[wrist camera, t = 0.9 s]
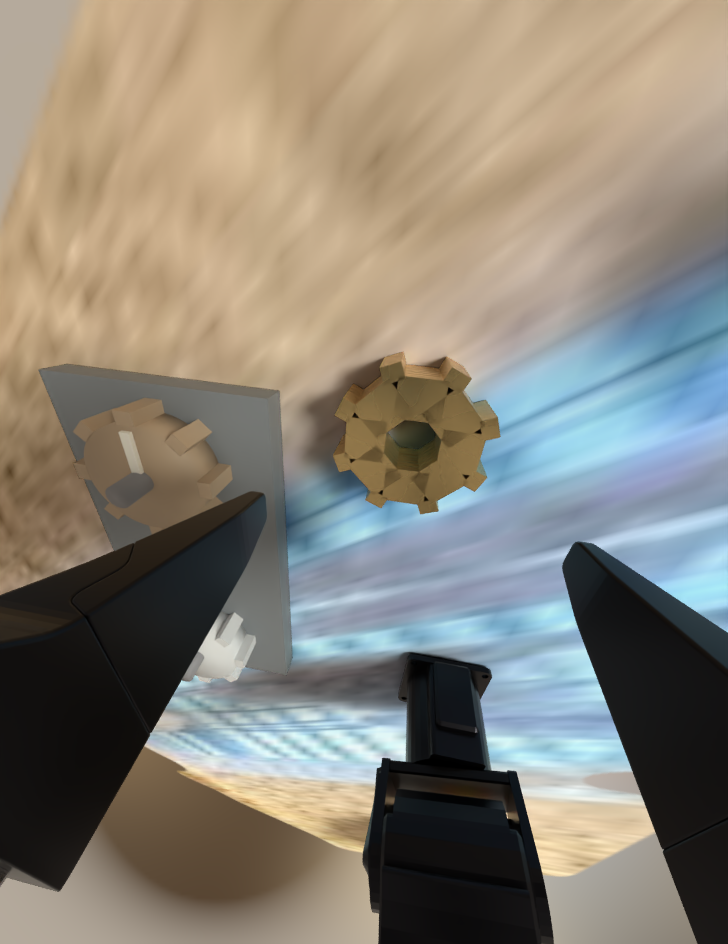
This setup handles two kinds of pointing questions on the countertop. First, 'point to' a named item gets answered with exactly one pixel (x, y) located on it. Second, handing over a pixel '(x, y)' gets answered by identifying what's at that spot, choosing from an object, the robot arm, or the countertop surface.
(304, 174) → the countertop surface
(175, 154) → the countertop surface
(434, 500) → the brass gear
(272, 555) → the gear board
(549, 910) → the robot arm
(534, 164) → the countertop surface
